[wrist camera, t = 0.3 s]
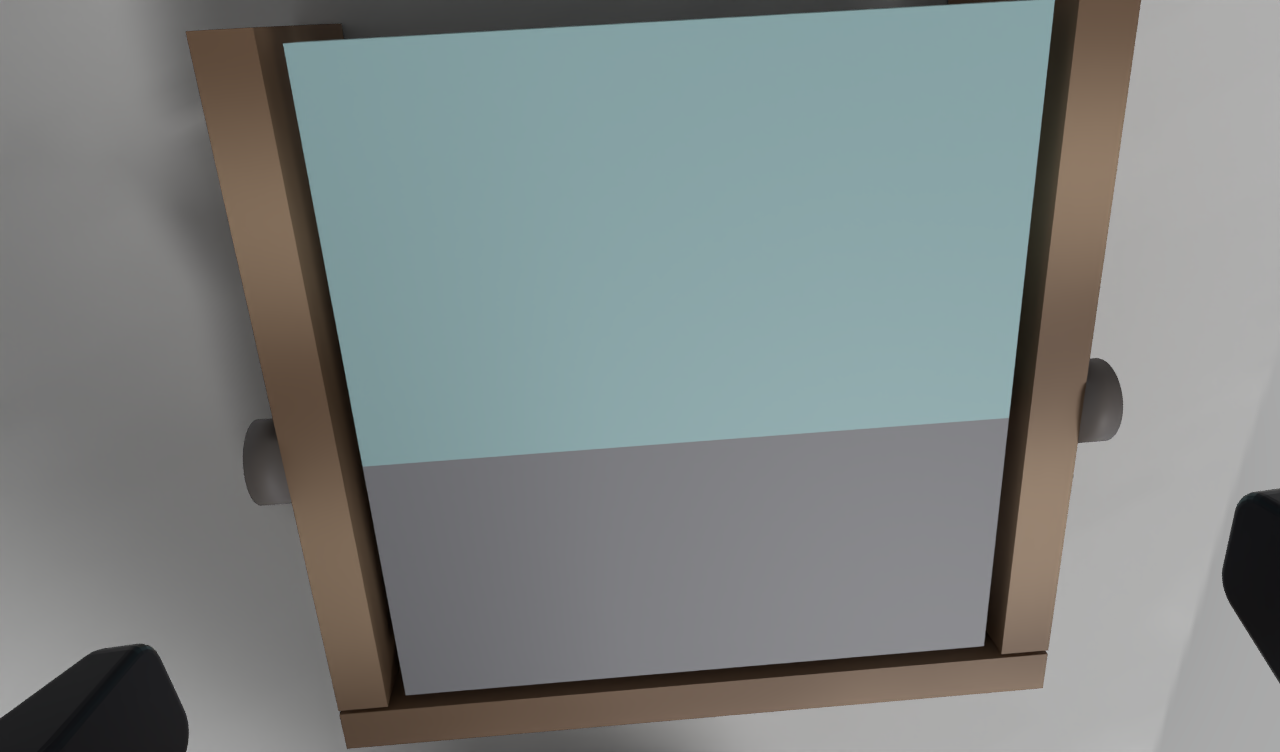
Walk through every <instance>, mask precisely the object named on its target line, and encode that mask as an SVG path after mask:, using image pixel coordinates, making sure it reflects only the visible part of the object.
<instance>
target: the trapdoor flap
mask: <svg viewBox="0 0 1280 752" xmlns="http://www.w3.org/2000/svg"><path fill="white" fill-rule="evenodd" d="M1054 4H1055V0H1017V1H1000V2H982V3H965V4H947V5H930V6H913V7H895V8H878V9H860V10H843V11H826V12H808V13H791V14H773V15H756V16H739V17H721V18H704V19H686V20H669V21H651V22H634V23H617V24H599V25H582V26H564V27H547V28H530V29H512V30H495V31H477V32H460V33H443V34H425V35H408V36H390V37H373V38H356V39H338V40H321V41H303V42H293V43H283V46H284V52H285V57H286V62H287V68H288V73H289V78H290V84H291V89H292V94H293V99H294V105H295V110H296V115H297V121H298V126H299V131H300V137H301V142H302V147H303V153H304V158H305V163H306V168H307V174H308V179H309V184H310V190H311V195H312V200H313V206H314V211H315V216H316V222H317V227H318V232H319V237H320V243H321V248H322V253H323V259H324V264H325V269H326V275H327V280H328V285H329V291H330V296H331V301H332V306H333V312H334V317H335V322H336V328H337V333H338V338H339V344H340V349H341V354H342V360H343V365H344V370H345V375H346V381H347V386H348V391H349V397H350V402H351V407H352V413H353V418H354V423H355V429H356V434H357V439H358V445H359V450H360V455H361V460H362V466H363V471H364V476H365V482H366V487H367V492H368V498H369V503H370V508H371V514H372V519H373V524H374V529H375V535H376V540H377V545H378V551H379V556H380V561H381V567H382V572H383V577H384V583H385V588H386V593H387V598H388V604H389V609H390V614H391V620H392V625H393V630H394V636H395V641H396V646H397V652H398V657H399V662H400V667H401V673H402V678H403V683H404V689H405V694H406V695H416V694H428V693H440V692H451V691H463V690H475V689H486V688H498V687H510V686H522V685H533V684H545V683H557V682H569V681H580V680H592V679H604V678H616V677H627V676H639V675H651V674H663V673H674V672H686V671H698V670H710V669H721V668H733V667H745V666H757V665H768V664H780V663H792V662H803V661H815V660H827V659H839V658H850V657H862V656H874V655H886V654H897V653H909V652H921V651H933V650H944V649H956V648H968V647H980V646H984V640H985V631H986V622H987V613H988V604H989V595H990V586H991V577H992V567H993V558H994V549H995V540H996V531H997V522H998V513H999V504H1000V495H1001V486H1002V477H1003V467H1004V458H1005V449H1006V440H1007V431H1008V422H1009V413H1010V404H1011V395H1012V386H1013V377H1014V367H1015V358H1016V349H1017V340H1018V331H1019V322H1020V313H1021V304H1022V295H1023V286H1024V277H1025V267H1026V258H1027V249H1028V240H1029V231H1030V222H1031V213H1032V204H1033V195H1034V186H1035V177H1036V167H1037V158H1038V149H1039V140H1040V131H1041V122H1042V113H1043V104H1044V95H1045V86H1046V76H1047V67H1048V58H1049V49H1050V40H1051V31H1052V22H1053V13H1054Z"/></svg>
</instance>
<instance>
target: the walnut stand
mask: <svg viewBox="0 0 1280 752" xmlns="http://www.w3.org/2000/svg"><path fill="white" fill-rule="evenodd" d="M1000 1H1017V0H948V4H965V3H982V2H1000ZM1140 4H1141V0H1055V4H1054V13H1053V22H1052V31H1051V40H1050V49H1049V58H1048V67H1047V76H1046V86H1045V95H1044V104H1043V113H1042V122H1041V131H1040V140H1039V149H1038V158H1037V167H1036V177H1035V186H1034V195H1033V204H1032V213H1031V222H1030V231H1029V240H1028V249H1027V258H1026V267H1025V277H1024V286H1023V295H1022V304H1021V313H1020V322H1019V331H1018V340H1017V349H1016V358H1015V367H1014V377H1013V386H1012V395H1011V404H1010V413H1009V422H1008V431H1007V440H1006V449H1005V458H1004V467H1003V477H1002V486H1001V495H1000V504H999V513H998V522H997V531H996V540H995V549H994V558H993V567H992V577H991V586H990V595H989V604H988V613H987V622H986V631H985V640H984V646H980V647H968V648H956V649H944V650H933V651H921V652H909V653H897V654H886V655H874V656H862V657H850V658H839V659H827V660H815V661H803V662H792V663H780V664H768V665H757V666H745V667H733V668H721V669H710V670H698V671H686V672H674V673H663V674H651V675H639V676H627V677H616V678H604V679H592V680H580V681H569V682H557V683H545V684H533V685H522V686H510V687H498V688H486V689H475V690H463V691H451V692H440V693H428V694H416V695H406V694H405V689H404V683H403V678H402V673H401V667H400V662H399V657H398V652H397V646H396V641H395V636H394V630H393V625H392V620H391V614H390V609H389V604H388V598H387V593H386V588H385V583H384V577H383V572H382V567H381V561H380V556H379V551H378V545H377V540H376V535H375V529H374V524H373V519H372V514H371V508H370V503H369V498H368V492H367V487H366V482H365V476H364V471H363V466H362V460H361V455H360V450H359V445H358V439H357V434H356V429H355V423H354V418H353V413H352V407H351V402H350V397H349V391H348V386H347V381H346V375H345V370H344V365H343V360H342V354H341V349H340V344H339V338H338V333H337V328H336V322H335V317H334V312H333V306H332V301H331V296H330V291H329V285H328V280H327V275H326V269H325V264H324V259H323V253H322V248H321V243H320V237H319V232H318V227H317V222H316V216H315V211H314V206H313V200H312V195H311V190H310V184H309V179H308V174H307V168H306V163H305V158H304V153H303V147H302V142H301V137H300V131H299V126H298V121H297V115H296V110H295V105H294V99H293V94H292V89H291V84H290V78H289V73H288V68H287V62H286V57H285V52H284V46H283V43H293V42H303V41H321V40H338V39H344V37H343V31H342V25H341V23H340V24H318V25H296V26H274V27H253V28H235V29H217V30H200V31H186V35H187V40H188V44H189V49H190V53H191V58H192V62H193V67H194V71H195V75H196V80H197V84H198V89H199V93H200V98H201V102H202V107H203V111H204V115H205V120H206V124H207V129H208V133H209V138H210V142H211V147H212V151H213V155H214V160H215V164H216V169H217V173H218V178H219V182H220V186H221V191H222V195H223V200H224V204H225V209H226V213H227V218H228V222H229V226H230V231H231V235H232V240H233V244H234V249H235V253H236V258H237V262H238V266H239V271H240V275H241V280H242V284H243V289H244V293H245V297H246V302H247V306H248V311H249V315H250V320H251V324H252V329H253V333H254V337H255V342H256V346H257V351H258V355H259V360H260V364H261V369H262V373H263V377H264V382H265V386H266V391H267V395H268V400H269V404H270V408H271V413H272V417H273V418H272V419H258V420H255V421H253V422H252V423H251V425H250V426H249V428H248V430H247V433H246V437H245V441H244V448H243V469H244V476H245V482H246V485H247V489H248V492H249V494H250V496H251V498H252V499H253V501H254V502H255V503H256V504H258V505H261V506H262V505H275V504H288V503H292V506H293V511H294V515H295V519H296V524H297V528H298V533H299V537H300V542H301V546H302V551H303V555H304V559H305V564H306V568H307V573H308V577H309V582H310V586H311V591H312V595H313V599H314V604H315V608H316V613H317V617H318V622H319V626H320V631H321V635H322V639H323V644H324V648H325V653H326V657H327V662H328V666H329V670H330V675H331V679H332V684H333V688H334V693H335V697H336V702H337V706H338V710H339V711H341V712H340V719H341V724H342V728H343V733H344V737H345V742H346V746H347V749H350V748H361V747H373V746H384V745H396V744H407V743H418V742H430V741H441V740H453V739H464V738H476V737H487V736H499V735H510V734H522V733H533V732H545V731H556V730H568V729H579V728H590V727H602V726H613V725H625V724H636V723H648V722H659V721H671V720H682V719H694V718H705V717H717V716H728V715H740V714H751V713H763V712H774V711H785V710H797V709H808V708H820V707H831V706H843V705H854V704H866V703H877V702H889V701H900V700H912V699H923V698H935V697H946V696H957V695H969V694H980V693H992V692H1003V691H1015V690H1026V689H1038V688H1043V682H1044V675H1045V668H1046V661H1047V653H1046V651H1045V650H1048V647H1049V640H1050V633H1051V626H1052V619H1053V612H1054V605H1055V598H1056V591H1057V584H1058V577H1059V570H1060V563H1061V556H1062V549H1063V542H1064V535H1065V528H1066V521H1067V514H1068V507H1069V500H1070V493H1071V486H1072V479H1073V472H1074V465H1075V458H1076V451H1077V444H1078V443H1083V442H1097V441H1107V440H1109V439H1111V438H1112V437H1113V436H1114V435H1115V434H1116V433H1117V431H1118V429H1119V427H1120V424H1121V420H1122V413H1123V398H1122V391H1121V387H1120V383H1119V381H1118V378H1117V376H1116V374H1115V372H1114V370H1113V369H1112V367H1111V366H1110V365H1109V364H1108V363H1107V362H1106V361H1104V360H1102V359H1099V358H1092V359H1090V353H1091V346H1092V339H1093V332H1094V325H1095V318H1096V311H1097V304H1098V297H1099V290H1100V283H1101V276H1102V269H1103V262H1104V255H1105V248H1106V241H1107V234H1108V227H1109V220H1110V213H1111V206H1112V199H1113V192H1114V185H1115V178H1116V171H1117V165H1118V158H1119V151H1120V144H1121V137H1122V130H1123V123H1124V116H1125V109H1126V102H1127V95H1128V88H1129V81H1130V74H1131V67H1132V60H1133V53H1134V46H1135V39H1136V32H1137V25H1138V18H1139V11H1140Z"/></svg>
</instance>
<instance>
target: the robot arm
mask: <svg viewBox="0 0 1280 752" xmlns="http://www.w3.org/2000/svg"><path fill="white" fill-rule="evenodd" d="M1222 581H1223V587H1224V591H1225V593H1226V596H1227V599H1228V600H1229V603H1230V604H1231V606H1232V608H1233V609H1234V611H1235V612H1236V614H1237V616H1238V617H1239V619H1240V621H1241V622H1242V624H1243V625H1244V627H1245V629H1246V630H1247V632H1248V633H1249V635H1250V637H1251V638H1252V640H1253V641H1254V643H1255V645H1256V646H1257V648H1258V649H1259V651H1260V653H1261V654H1262V656H1263V657H1264V659H1265V661H1266V662H1267V664H1268V665H1269V667H1270V668H1271V670H1272V672H1273V673H1274V675H1275V677H1276V678H1277V680H1278V681H1279V683H1280V489H1272V490H1265V491H1258V492H1252V493H1250V494H1247V495H1245V496H1244V497H1243V498H1242V499H1241V500H1240V501H1239V503H1238V504H1237V507H1236V510H1235V514H1234V518H1233V523H1232V527H1231V532H1230V537H1229V541H1228V546H1227V550H1226V555H1225V560H1224V564H1223V569H1222ZM188 737H189V729H188V721H187V716H186V713H185V711H184V708H183V706H182V704H181V702H180V700H179V698H178V695H177V693H176V691H175V689H174V687H173V685H172V682H171V680H170V678H169V676H168V674H167V672H166V669H165V667H164V665H163V663H162V661H161V659H160V657H159V655H158V653H157V652H156V651H155V650H154V649H153V648H152V647H150V646H149V645H145V644H133V645H125V646H118V647H111V648H104V649H99V650H96V651H94V652H91V653H90V654H88V655H87V656H85V657H84V658H83V659H81V660H80V661H78V662H77V663H76V664H74V665H73V666H72V667H70V668H69V669H68V670H66V671H65V672H63V673H62V674H61V675H59V676H58V677H57V678H55V679H54V680H52V681H51V682H50V683H48V684H47V685H46V686H44V687H43V688H41V689H40V690H39V691H37V692H36V693H35V694H33V695H32V696H30V697H29V698H28V699H26V700H25V701H24V702H22V703H21V704H20V705H18V706H17V707H15V708H14V709H13V710H11V711H10V712H9V713H7V714H6V715H4V716H3V717H2V718H0V752H186V750H187V745H188Z"/></svg>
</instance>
